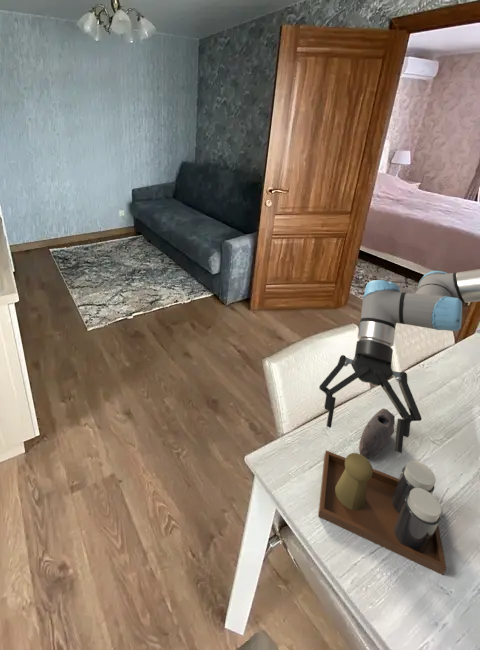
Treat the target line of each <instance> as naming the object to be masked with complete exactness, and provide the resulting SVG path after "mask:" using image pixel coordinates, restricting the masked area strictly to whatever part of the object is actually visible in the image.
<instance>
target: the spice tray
mask: <svg viewBox="0 0 480 650" xmlns="http://www.w3.org/2000/svg"><path fill="white" fill-rule="evenodd" d="M345 459H346V457H344V456H341V455H339V454H338V453H337V454H336V453H334V452H332V451H329V450H325V451H324V456H323V465H322V475H321V483H320V484H321V485H320V495H319V504H318V514H317V517H318V518H320V519H323V520H325V521H327V522H329V523H331V524H333V525H334V526H337V527H339V528H342V529H344V530H346V531H348V532H350V533H352V534H354V535H357V536H358V537H361V538H362V539H365V540H367V541H369V542H371V543H373V544H376V545H378V546H380V547H382V548H384V549H386V550H388V551H390V552H393V553H394V554H397V555H399V556H401V557H403V558H405V559H407V560H408V561H409V560H410V561H412V562H414V563H416V564H418V565H420V566H422V567H423V568H426V569H429V570H431V571H433V572H435V573H436V574H439V575H441V576H444V574H445V572H446V570H447V564H446V559H445V553H444V549H443V542H442V537H441V532H440V526H439V525H438V526H437V528H436V530H435V532H434V534H433V536H432V538H431V540H430V542H429V545H428V547H427V549H426V551H425V552H423V553H420V552H418V551H415V550H413V549H411V548H409V547H407V546H404V545H402V544H401V543H400V542H399V540H398V539H397V537H396V535H395V533H394V525H395V522H396V520H397V517H398V515H399V513H398V512H397V511H396V510H395V508H394V506H393V504H392V495H393V493H394V490H395V488H396V485H397V482H398V480H399V477H395V476H394V475H393V476H392V475H390V474H388V473H385V472H382V471H381V470H377V469H375V468H372V470H373V474H372V476H371V478H370V479H369V480H368V481H367V488H366V498H365V505H364V507H363V508H362V509H361V510H351V509H349V508H347V507H345V506H344V505H343V504H342V503H341V502H340V501H339V500H338V498H337V496H336V493H335V486H336V485H337V483H338V481H339V479H340V477H341V476H342V474H343V472H344V470H345ZM432 495H433V496H434V492H433V493H432Z"/></svg>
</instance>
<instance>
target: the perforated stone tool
mask: <svg viewBox="0 0 480 650" xmlns="http://www.w3.org/2000/svg"><path fill="white" fill-rule="evenodd" d="M395 419H396V418H395V415H394V414H393V413H392V412H390V411H389V410H388V409H387V408H381V409H380V410H378V411H377V412H376V413H375V414H374V415H373V416H372V417H371V418H370V420H369V421H368V422H367V424H366V426H365V427H364V429H363V430H362V433H361V436H360V440H359V444H358V445H359V446H358V451H359V452H358V453H359V454H361V455H363V456H364V457H366V458H370V457H373V456H375V455H376V454H378V453H379V452H380V451H381V450H382V449H383V448H384V447H385V446H386V445H387V443H388V441H389V440H390V438H391V437H392V436H393V435H394V433H395V423H396V420H395Z"/></svg>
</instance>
